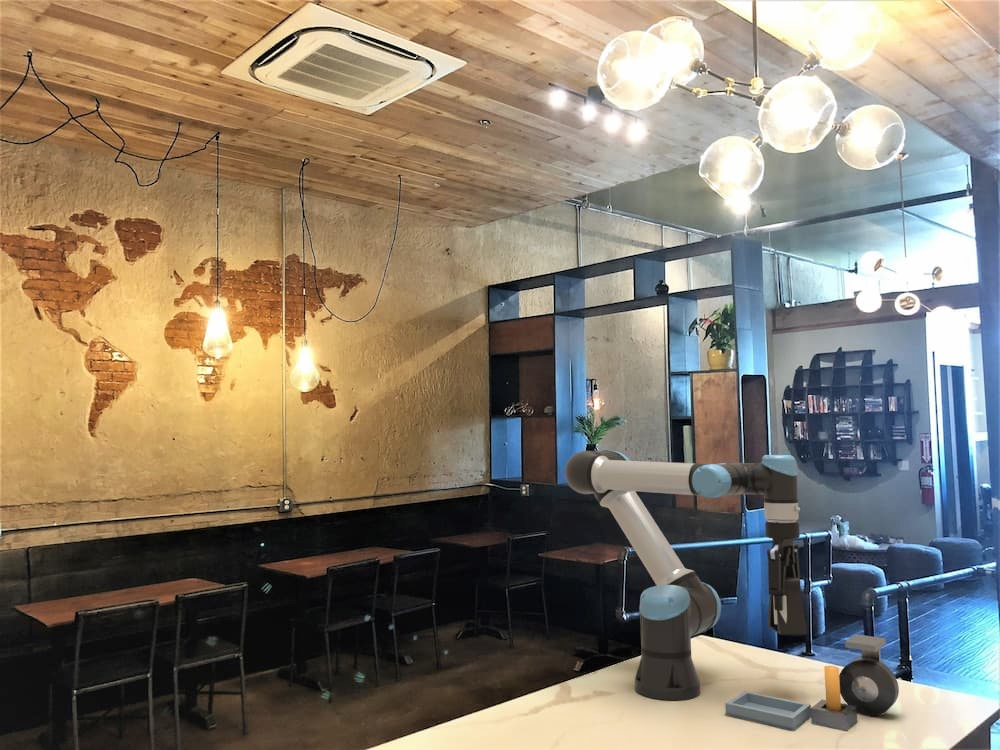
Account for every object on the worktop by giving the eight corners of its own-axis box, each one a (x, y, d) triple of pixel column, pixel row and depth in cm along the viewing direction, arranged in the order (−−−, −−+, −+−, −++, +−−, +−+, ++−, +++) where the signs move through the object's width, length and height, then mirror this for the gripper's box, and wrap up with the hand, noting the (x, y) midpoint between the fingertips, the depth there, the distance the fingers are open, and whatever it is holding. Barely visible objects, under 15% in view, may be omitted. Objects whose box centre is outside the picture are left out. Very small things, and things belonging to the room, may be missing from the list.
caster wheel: (836, 712, 163) (833, 639, 164) (848, 702, 169) (844, 632, 170) (892, 723, 155) (888, 647, 157) (902, 713, 162) (898, 640, 163)
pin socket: (811, 723, 156) (810, 708, 157) (822, 713, 162) (821, 699, 162) (847, 731, 152) (846, 715, 152) (857, 721, 157) (856, 706, 157)
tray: (725, 715, 162) (725, 703, 162) (745, 702, 169) (745, 691, 170) (793, 731, 152) (792, 718, 152) (811, 716, 160) (810, 704, 160)
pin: (825, 722, 157) (822, 668, 158) (829, 718, 159) (826, 665, 160) (839, 725, 155) (836, 670, 156) (843, 721, 157) (840, 667, 158)
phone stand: (807, 635, 170) (805, 580, 171) (780, 635, 170) (778, 581, 171) (792, 625, 179) (790, 574, 180) (767, 625, 179) (765, 574, 180)
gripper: (782, 525, 167) (787, 632, 165) (812, 518, 182) (817, 616, 180) (749, 523, 172) (754, 627, 170) (781, 516, 187) (785, 612, 184)
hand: (786, 621), depth 175 cm, fingers closed on phone stand, 6 cm apart
